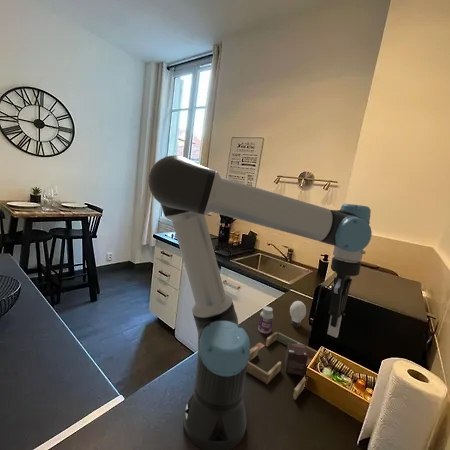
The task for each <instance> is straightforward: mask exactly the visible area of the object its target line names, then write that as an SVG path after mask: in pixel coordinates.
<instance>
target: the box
mask: <svg viewBox="0 0 450 450" xmlns="http://www.w3.org/2000/svg"><path fill="white" fill-rule="evenodd" d="M306 346H307V345H306ZM306 346H305V344H304V345H300V344H295V343H290V342H288V345H286V351H285V352H286V353H285V356H284V357H285V359H284V365H285V366H284V367H285V373H287V374H292V375H297V376H302V377H304V376H306V370H307V366H306V365H307V360H308V354H307V350H306Z"/></svg>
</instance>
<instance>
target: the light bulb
mask: <svg viewBox="0 0 450 450" xmlns="http://www.w3.org/2000/svg"><path fill="white" fill-rule="evenodd" d="M289 314H290V316H291V323H290V325H291V326H292V327H294V328H298V327H300V326H301V323H302V322H301V321H302V320H303V319H304V318H305V317H306V315H307V308H306V305H305V304H304V302H303V301H301V300H295V301H294V302H292V304H291V305H290V307H289Z"/></svg>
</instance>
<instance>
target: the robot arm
mask: <svg viewBox="0 0 450 450" xmlns="http://www.w3.org/2000/svg"><path fill="white" fill-rule="evenodd" d="M148 186H149V191H150V193H151V195H152V197H153V198H154V199H155V200H156V201H157V202H158V203H159V204H160V205H161V208H162V213H163V215H164V218H165V219H167V220H169V221H171V223H172V225H173V229H174V231H175V232H174V233H175V237H176V239H177V242H178V247H179V249H180V255H181V257H182V261H183V263H184V268H185V271H186V275H187V279H188V281H189V285H190V289H191V292H192V296H193V299H194V305H193V306H192V308H191V313H192V316H193V320H194V322H195V323H194V324H195V326H196V330H197V365H196V374H195V382H194V389H193V391H192V393H191V395H190V397H189V399H188V400H187V403H186V405H185V409H184V414H183V428H184V431H185V434H186V435H187V437H188V439H189V440H190V441H191V443H193V444H194V445H195V446H197V447H198V448H199V449H201V450H232V449H234V448H235V447H236V446H238V444H240V443H241V441H242V440H243V438H244V436H245V433H246V428H247V413H246V409H245V404H244V398H243V397H244V389H245V384H246V377H247V373H248V372H247V365H248V360H249V357H250V349H251V341H250V337H249V335H248V333H247V332H246V330H245V329H244V328H243V327H240V324H239V320H238V319H239V318H238V315H237V312H236V309H235V305H234V302H233V299H232V297H231V296H230V295H229V294H227V293H226V291H225V288H224V284H223V280H222V276H221V273H220V269H219V265H218V260H217V258H216V253H215V249H214V246H213V242H212V238H211V233H210V231H209V227H208V222H207V220H206V215H207V214H209V213H215V214H218V215H221V216H226V217H229V218H233V219H237V220H240V221H243V222H247V223H250V224H255V225H259V226H262V227H265V228H268V229H273V230H276V231H280V232H284V233H287V234H288V233H289V234H290V235H295V236H300V237H302V238H305V239H311V240H314V241H317V242H320V243H324V244H327V245H330V246H333V252H332V255H333V257H332V258H331V264H330V269H331V271H332V272H334V273H336V276H335V277H334V278H333V285H331V287H330V303H329V311H328V312H327V314H328V315H330V317H329V321H328V323H329V324H328V328H327V333H326V334H327V335H329V336H331V337H334V338H338V337H339V332H340V327H341V321H342V316H346V312H344V311H346V304H347V300H348V296H349V292H350V288H351V285H352V281H353V278H351V277H356V276H358V275H360V270H361V267H362V266H361V265H362V262H361V261H362V259H363V255H365V254H366V253H367V252H366V250H364V249H365V248H367V246H368V245H369V243H370V242H371V238H372V235H373V234H372V228H371V225H370V224H371V221H370V220H371V208H370V207H369V206H366V205H362V204H361V205H360V204H352V203H343V204H342V205H341V207H340V209H335V210H334V209H329V208H326V207H323V206H319V205H317V204H312V203H309V202H306V201H303V200H299V199H296V198H293V197H289V196H286V195H283V194H279V193H275V192H272V191H269V190H265V189H262V188H259V187H255V186H252V185H249V184H245V183H242V182H239V181H235V180H232V179H228V178H225V177H221V176H220V174H219V172H218V170H214V169H211V168H208V167H205V166H203V165H202V164H199V163H197V162H194V161H192V160H190V159H188V158H186V157H185V156H181V155H168V156H165V157H163V158H161V159H159V160H157V162H155V163H154V164H153V166H152V167H151V169H150V172H149V174H148Z"/></svg>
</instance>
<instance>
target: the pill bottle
mask: <svg viewBox="0 0 450 450" xmlns="http://www.w3.org/2000/svg"><path fill="white" fill-rule="evenodd" d="M273 310H274V309H273V308H272V307H270V306H266V305H265V306H263V307H262V311H261V312H260V314H259V319H258V323H257V325H258V326H257V330H258V331H259V332H260V333H261V334H269V333H271V332H272V327H273V321H274V314H273Z"/></svg>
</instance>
